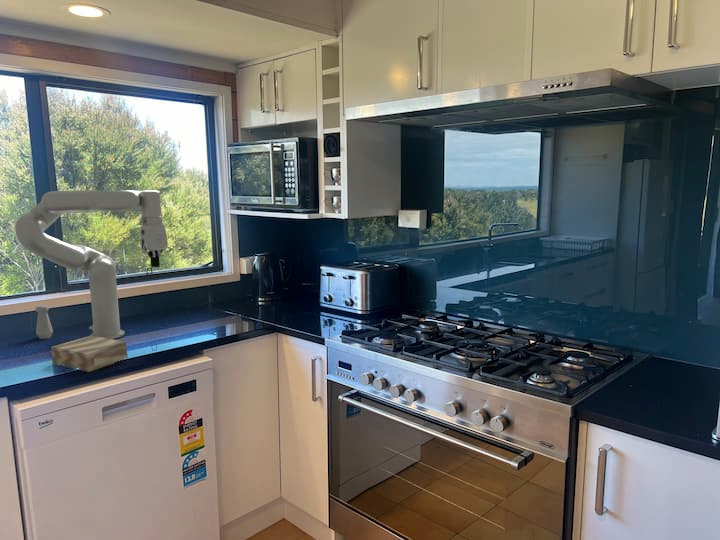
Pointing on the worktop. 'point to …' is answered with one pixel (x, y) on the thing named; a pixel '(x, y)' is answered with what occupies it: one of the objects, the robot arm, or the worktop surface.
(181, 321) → the worktop surface
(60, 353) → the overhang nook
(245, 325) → the worktop surface
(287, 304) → the worktop surface
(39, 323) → the salt shaker
